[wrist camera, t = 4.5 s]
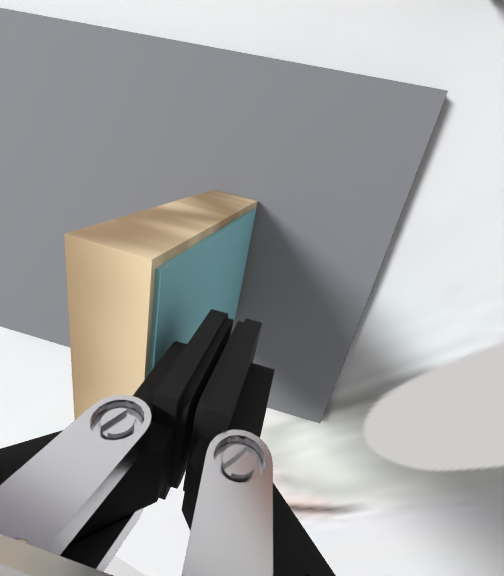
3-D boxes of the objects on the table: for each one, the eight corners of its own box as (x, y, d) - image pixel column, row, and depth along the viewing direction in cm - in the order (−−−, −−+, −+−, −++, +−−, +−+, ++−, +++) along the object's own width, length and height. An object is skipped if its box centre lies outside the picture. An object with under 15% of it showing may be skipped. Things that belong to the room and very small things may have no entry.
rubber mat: (443, 92, 14) (447, 90, 14) (320, 416, 22) (320, 423, 22) (-47, 2, 17) (-59, -3, 16) (3, 321, 25) (-4, 325, 24)
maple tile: (260, 201, 17) (158, 261, 8) (237, 319, 20) (143, 460, 11) (213, 189, 17) (64, 233, 8) (197, 307, 20) (75, 433, 11)
